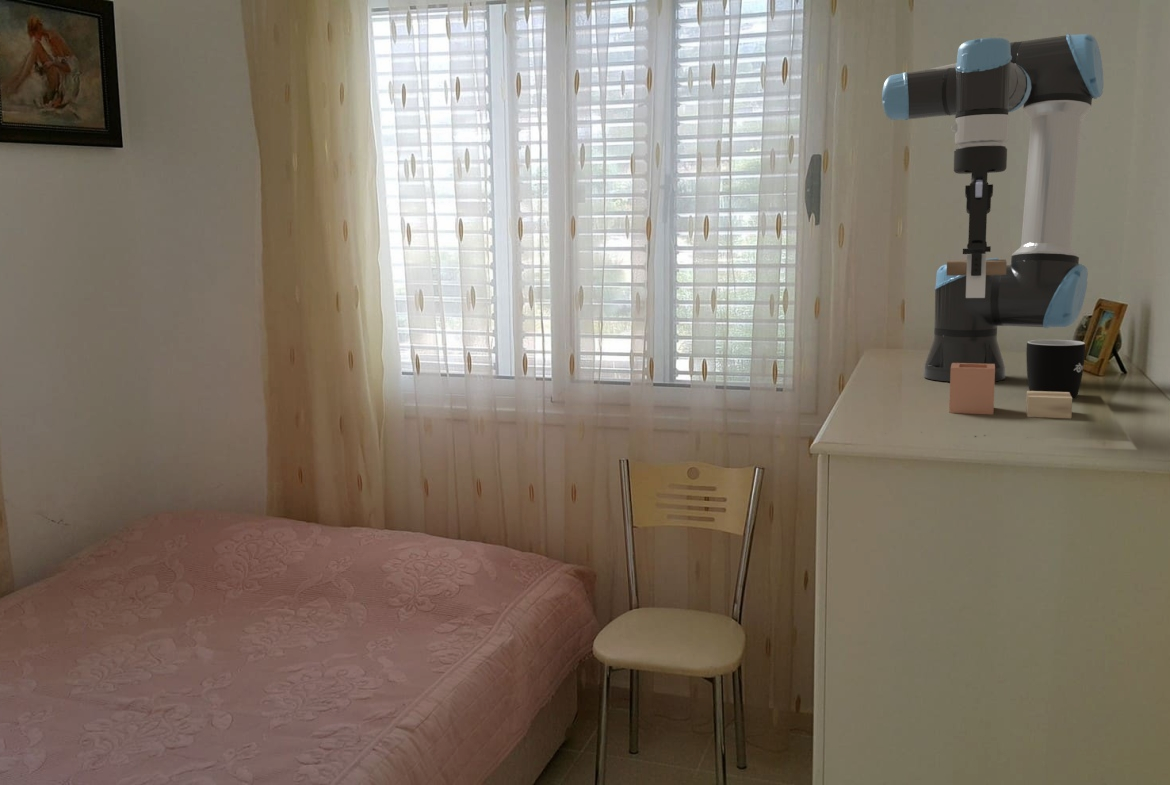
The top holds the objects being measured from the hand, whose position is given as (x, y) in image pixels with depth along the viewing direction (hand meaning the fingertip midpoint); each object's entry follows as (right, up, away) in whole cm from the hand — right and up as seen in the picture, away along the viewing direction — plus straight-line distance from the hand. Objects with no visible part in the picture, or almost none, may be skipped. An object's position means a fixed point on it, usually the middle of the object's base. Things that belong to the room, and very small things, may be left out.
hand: (975, 295), depth 158 cm
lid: (0, +3, -1) cm, 3 cm away
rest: (+10, -19, -2) cm, 22 cm away
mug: (+19, -17, +16) cm, 30 cm away
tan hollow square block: (0, -19, +3) cm, 19 cm away
